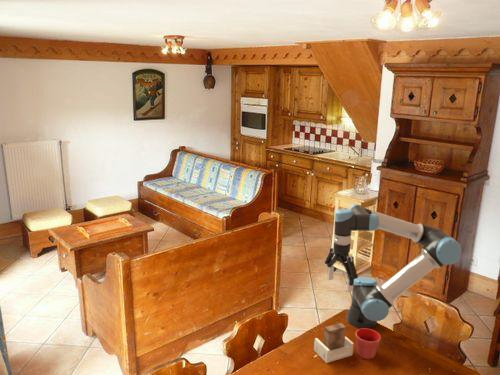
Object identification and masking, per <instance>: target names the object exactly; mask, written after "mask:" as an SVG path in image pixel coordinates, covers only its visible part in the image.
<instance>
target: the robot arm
mask: <svg viewBox="0 0 500 375" xmlns="http://www.w3.org/2000/svg"><path fill="white" fill-rule="evenodd" d="M378 230H382V231H385V232H388V233H391V234H394V235H397V236H401V237H403V238H407V239H410V240H412V243H416V244H419V245H420V246H422V248H421V252H420V254H418V256H416V257H414V259H412V260H411V261H410V262H409V263H407V264H406V265H405V266H404V267H402V268H401V269H400V270H399V271H397V272H396V273H395V274H393V276H391V277H390V278H389V279H387V280H386V281H385V282H384V283H383V284H381V285H379V284H378V281H377V280H376V279H375V278H372V277H368V276H359V275H358V274H357V270H356V265H355V260H354V259H355V258H354V256H349V255H350V254H349V253H350V251H351V243H352V241H351V240H352V232H354V231H356V232H359V231H363V232H365V231H366V232H372V231H378ZM333 232H334V233H333V236H334V237H333V241H334V242H333V247H332V248H331V247H330V248H329V253H328V254H327V257H326V259H325V261H324V264H325V265H327V280H328V281H331V280H334V270H335V268H334V267H335V266H334V264H335V263H337V262H339V263H340V264H341V265H342V266H343V267H344V269H345V271H346V272H345V273H346V274H347V281H346V282H347V284H346V292H348V293H349V292H352V293H351V305H350V306H349V309H348V311H347V313H346V320H347V322H348V323H349V324H351V325H352V326H354V327H356V328H359V329H362V328H368V329H372V328H374V327H376V326H377V323H378V322H380V321H383V320H384V319H386V318H387V316H388V315H389V312H390V309H391V307H393V306H394V301H395V300H396V299H398V298H399V297H400V296H401V295H402V294H404V293H405V292H406V291H407V290H409V289H410V288H411V287H413V286H414V285H415V284H416V283H417V282H419V281H420V280H422V279H423V278H424V277H425V276H427V274H429V273H431V271H433V270H434V269H441V268H442V267H444V266H445V265H446V266H450V265H453V264H456V263H457V262H458V261H459V260H460V258H461V257H462V246H461V244H460V243H459V242H458V241H457V240H456V239H455V238H454V237H452V236H451V235H449V234H448V233H447V232H445V230H442V229H441V228H437V227H433V226H430V225H426V224H423V223H420V222H419V223H416V224H415V223H414V222H409V221H406V220H404V219H401V218H398V217H394V216H391V215H388V214H385V213H381V212H378V211H375V210H373V209H369V208H365V207H363V206H362V205H360V204H359V203H356V204H355V203H353V204H352V205H350V207H348V209H347V208H339V209H337V210H336V211H335V216H334V230H333Z"/></svg>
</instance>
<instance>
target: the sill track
mask: <svg viewBox="0 0 500 375" xmlns="http://www.w3.org/2000/svg"><path fill="white" fill-rule="evenodd" d="M354 345H355V343H354V342H353V341H352V340H350V338H348V337H347V336H346V335H345V343H344V347H341V348H338V349H334V350H331V351H330V350H329V349H328V348H327V347H326V346H325V345H324V344H323V342H322V341H321V340H320V339H319V338H317V337H315V338H314V345H313V351H314V352H315V353H316V354H317V355H318V356H319V357H320V358H321V359H322V360H323V361H324V362H325V363H326V364H328V363H331V362H334V361H338V360H342V359H345V358H348V357H351V356H353V355H354V347H355V346H354Z"/></svg>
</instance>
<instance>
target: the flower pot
mask: <svg viewBox="0 0 500 375" xmlns="http://www.w3.org/2000/svg"><path fill="white" fill-rule="evenodd" d="M381 336H382V335H381V334H380V333H379V332H378V331H376V330H374V329H372V328H359V329H357V330H356V331H355V341H356V342H355V343H356V351H357V355H358V356H359V357H361V358H363V359H366V360H367V359H369V360H370V359H374V358H375V357H376V354H377V351H378V348H379V345H380V342H381V339H382V337H381Z"/></svg>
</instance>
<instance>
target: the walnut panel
mask: <svg viewBox="0 0 500 375" xmlns="http://www.w3.org/2000/svg"><path fill="white" fill-rule="evenodd" d="M323 331H324V332H323V342H322V343H323V344H324V345H325V346H326V347H327V348H328V349H329V350H330V351H331V350H334V349H338V348H341V347H344V343H345V336H346V333H347V332H346V331H347V327H346V326H345V325H344V324H343V323H341V322H339V323H337V324H332V325H328V326H324V329H323Z"/></svg>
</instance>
